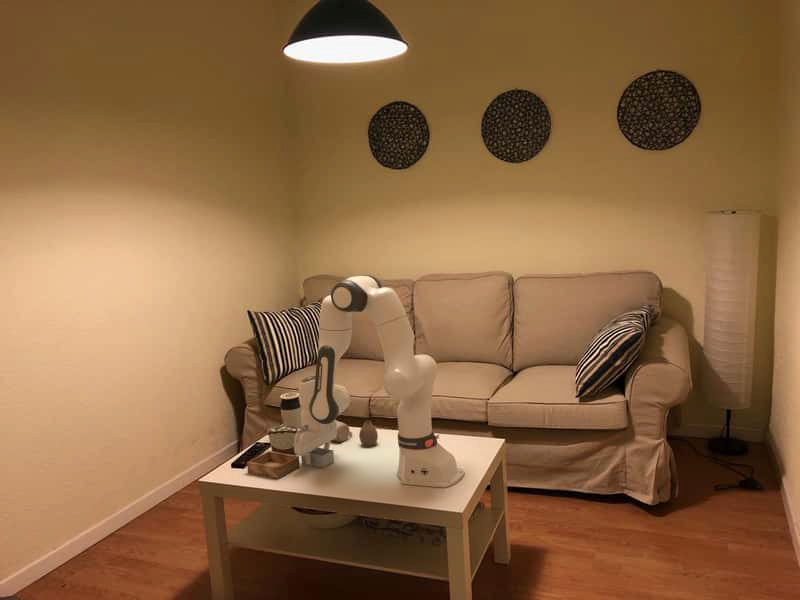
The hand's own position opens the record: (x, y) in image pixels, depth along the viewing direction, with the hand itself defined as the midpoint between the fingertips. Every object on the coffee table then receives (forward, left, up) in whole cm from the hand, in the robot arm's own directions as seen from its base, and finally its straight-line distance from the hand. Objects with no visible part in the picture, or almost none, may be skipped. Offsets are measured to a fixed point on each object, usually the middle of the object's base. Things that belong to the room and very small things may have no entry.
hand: (317, 458), depth 245 cm
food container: (+18, -4, -2) cm, 19 cm away
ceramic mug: (+8, -23, -2) cm, 24 cm away
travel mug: (+25, -16, -2) cm, 30 cm away
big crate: (+11, +11, -2) cm, 16 cm away
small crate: (0, 0, -2) cm, 2 cm away
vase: (-7, -22, -2) cm, 23 cm away
